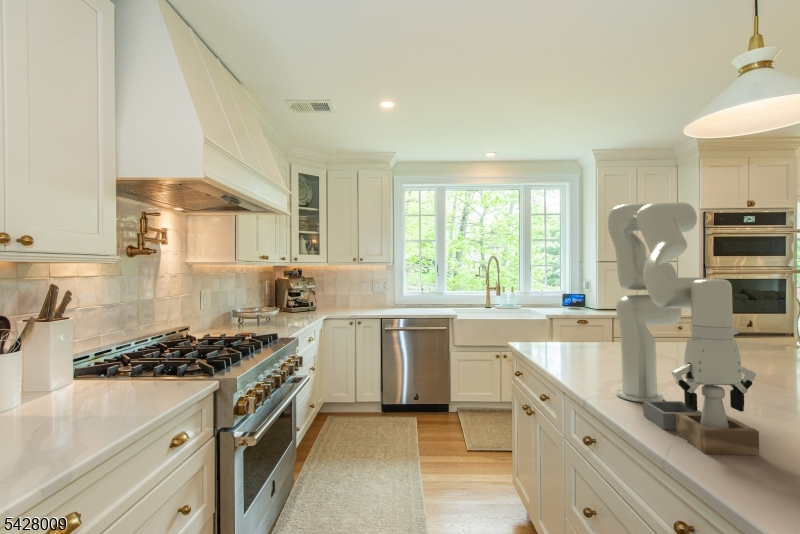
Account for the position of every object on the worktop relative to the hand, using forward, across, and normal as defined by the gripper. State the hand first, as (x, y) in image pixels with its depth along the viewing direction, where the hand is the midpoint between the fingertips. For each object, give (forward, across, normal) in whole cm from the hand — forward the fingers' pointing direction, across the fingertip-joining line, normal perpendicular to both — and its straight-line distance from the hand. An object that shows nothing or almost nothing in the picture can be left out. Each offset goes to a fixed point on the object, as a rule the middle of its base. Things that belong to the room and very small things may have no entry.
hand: (714, 409), depth 93 cm
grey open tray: (+8, +2, -13) cm, 15 cm away
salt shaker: (+8, 0, 0) cm, 8 cm away
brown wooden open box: (+8, 0, 0) cm, 8 cm away
